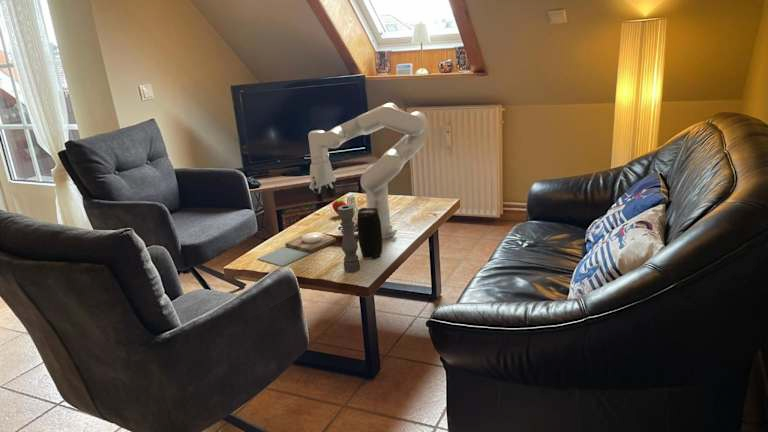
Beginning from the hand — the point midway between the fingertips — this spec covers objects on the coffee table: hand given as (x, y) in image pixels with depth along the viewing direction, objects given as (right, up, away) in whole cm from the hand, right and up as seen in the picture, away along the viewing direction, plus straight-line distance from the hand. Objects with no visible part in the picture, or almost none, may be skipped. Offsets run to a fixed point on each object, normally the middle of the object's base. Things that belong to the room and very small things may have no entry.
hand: (325, 198), depth 245 cm
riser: (-6, -20, -3) cm, 21 cm away
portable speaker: (+21, -24, -21) cm, 39 cm away
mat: (-16, -24, -14) cm, 32 cm away
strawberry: (+4, -8, +33) cm, 34 cm away
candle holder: (+14, -28, -33) cm, 45 cm away
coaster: (-5, -18, -2) cm, 19 cm away
